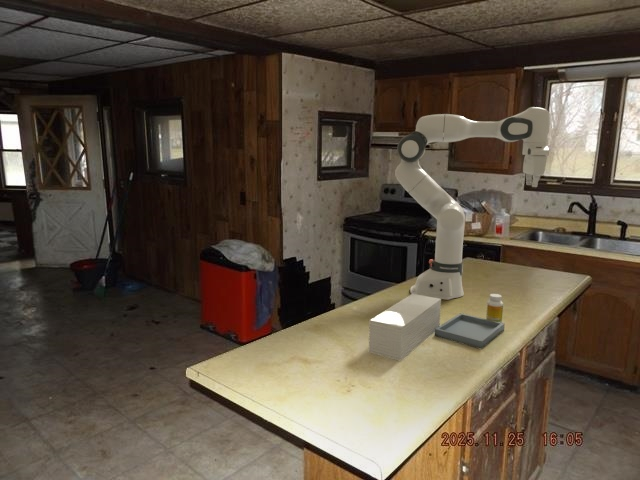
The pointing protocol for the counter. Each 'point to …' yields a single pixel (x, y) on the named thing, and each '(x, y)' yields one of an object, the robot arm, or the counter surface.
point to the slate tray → (470, 330)
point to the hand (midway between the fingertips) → (531, 186)
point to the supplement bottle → (495, 308)
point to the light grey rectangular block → (404, 326)
